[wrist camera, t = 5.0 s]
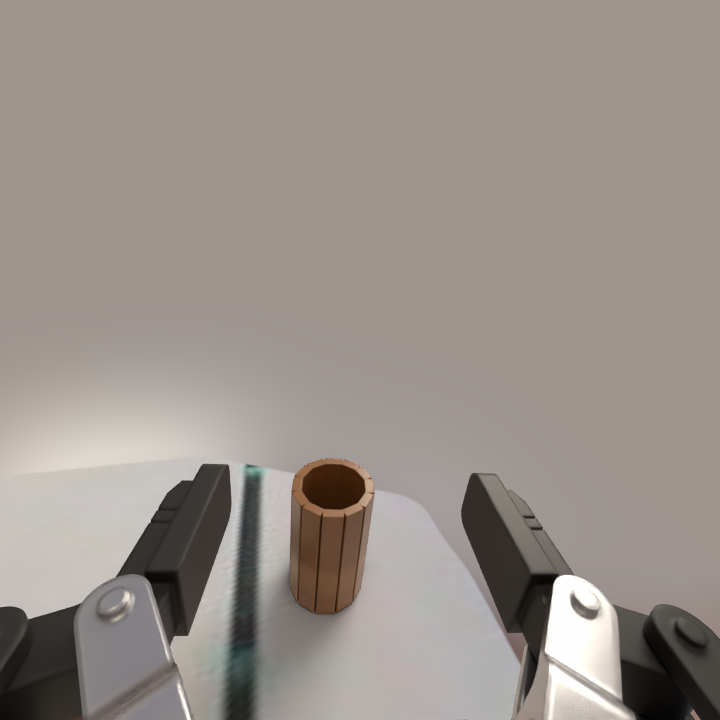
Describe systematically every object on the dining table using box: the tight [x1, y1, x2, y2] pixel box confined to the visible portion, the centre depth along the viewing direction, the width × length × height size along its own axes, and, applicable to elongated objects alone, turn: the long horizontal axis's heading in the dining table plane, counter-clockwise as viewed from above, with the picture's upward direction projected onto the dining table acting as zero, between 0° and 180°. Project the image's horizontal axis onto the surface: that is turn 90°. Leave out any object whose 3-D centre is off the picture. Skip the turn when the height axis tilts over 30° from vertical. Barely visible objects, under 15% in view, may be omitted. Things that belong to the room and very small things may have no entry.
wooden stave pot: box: [289, 458, 374, 614], centre depth 27 cm, size 6×6×10 cm
